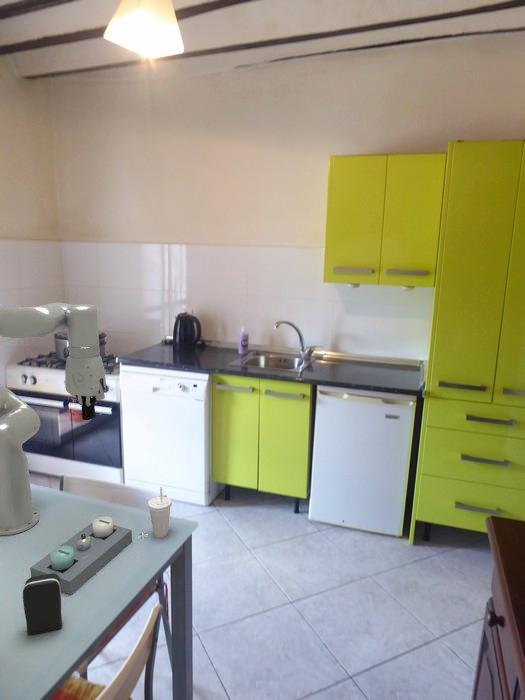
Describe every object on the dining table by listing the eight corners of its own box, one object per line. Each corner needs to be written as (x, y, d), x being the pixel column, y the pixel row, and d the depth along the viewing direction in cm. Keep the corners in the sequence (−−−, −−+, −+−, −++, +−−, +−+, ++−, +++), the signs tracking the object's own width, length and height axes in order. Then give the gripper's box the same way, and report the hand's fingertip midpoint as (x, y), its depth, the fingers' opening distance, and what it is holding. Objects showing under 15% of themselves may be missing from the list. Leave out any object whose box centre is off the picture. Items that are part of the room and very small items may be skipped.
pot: (75, 549, 118) (74, 536, 117) (83, 542, 121) (82, 530, 120) (84, 552, 117) (83, 539, 116) (93, 545, 120) (92, 533, 119)
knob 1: (47, 575, 112) (45, 554, 110) (63, 563, 116) (61, 543, 115) (63, 581, 110) (61, 560, 109) (79, 568, 114) (77, 548, 113)
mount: (31, 580, 112) (30, 567, 111) (96, 531, 132) (95, 519, 131) (70, 595, 107) (69, 581, 107) (132, 541, 127) (131, 529, 127)
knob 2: (89, 543, 124) (88, 523, 123) (102, 532, 129) (101, 514, 128) (104, 547, 122) (103, 528, 121) (117, 537, 127) (116, 518, 126)
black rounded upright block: (64, 615, 101) (60, 568, 99) (63, 629, 98) (59, 580, 95) (28, 623, 99) (23, 574, 97) (25, 637, 96) (20, 587, 93)
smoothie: (167, 542, 127) (165, 494, 124) (144, 539, 128) (142, 491, 126) (176, 529, 133) (174, 483, 130) (154, 526, 135) (153, 480, 132)
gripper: (51, 352, 123) (56, 418, 127) (97, 357, 118) (101, 427, 122) (72, 346, 130) (77, 410, 134) (117, 351, 125) (120, 418, 128)
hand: (88, 418), depth 128 cm, fingers closed
